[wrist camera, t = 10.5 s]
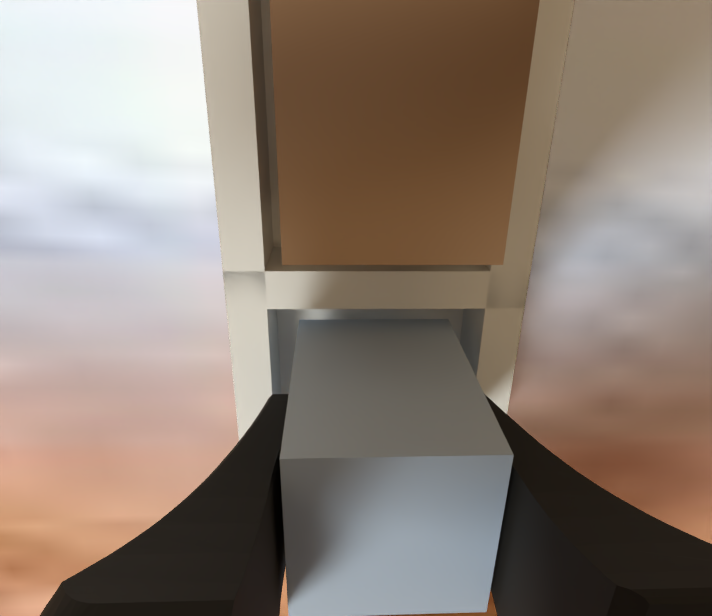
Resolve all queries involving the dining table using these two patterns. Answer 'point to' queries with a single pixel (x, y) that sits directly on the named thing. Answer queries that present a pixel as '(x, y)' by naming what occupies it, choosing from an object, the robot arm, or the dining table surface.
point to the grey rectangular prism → (389, 472)
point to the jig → (353, 282)
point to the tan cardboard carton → (398, 128)
